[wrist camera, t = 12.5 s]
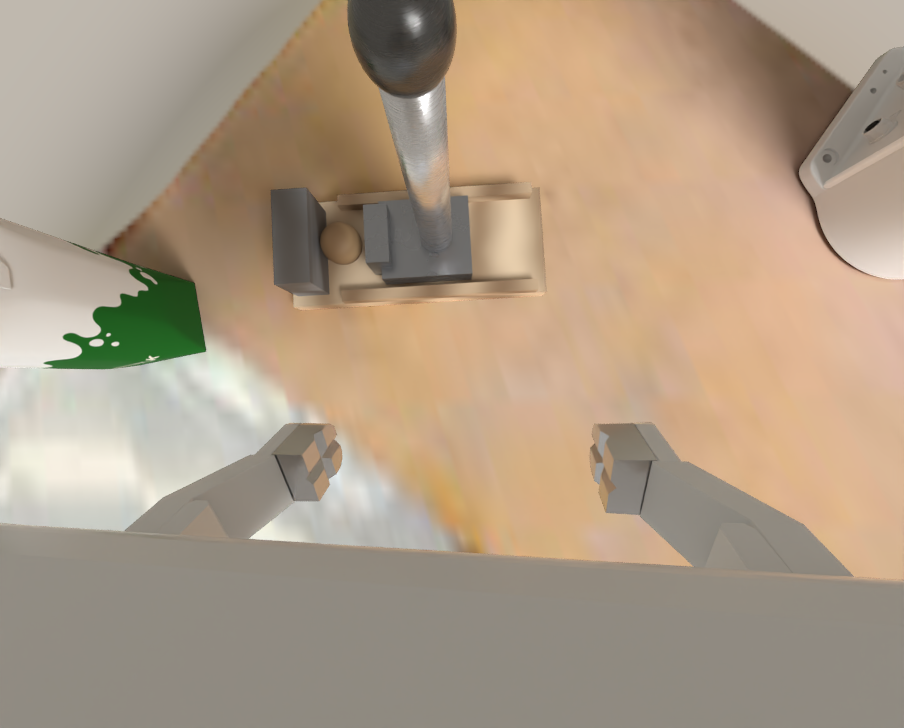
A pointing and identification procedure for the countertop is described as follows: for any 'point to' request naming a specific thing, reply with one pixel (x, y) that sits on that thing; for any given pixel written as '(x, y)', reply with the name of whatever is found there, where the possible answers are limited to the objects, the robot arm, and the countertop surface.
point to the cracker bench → (355, 285)
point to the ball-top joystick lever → (413, 140)
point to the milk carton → (88, 307)
